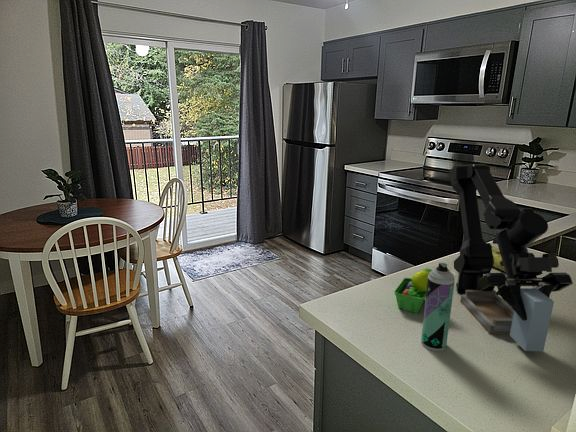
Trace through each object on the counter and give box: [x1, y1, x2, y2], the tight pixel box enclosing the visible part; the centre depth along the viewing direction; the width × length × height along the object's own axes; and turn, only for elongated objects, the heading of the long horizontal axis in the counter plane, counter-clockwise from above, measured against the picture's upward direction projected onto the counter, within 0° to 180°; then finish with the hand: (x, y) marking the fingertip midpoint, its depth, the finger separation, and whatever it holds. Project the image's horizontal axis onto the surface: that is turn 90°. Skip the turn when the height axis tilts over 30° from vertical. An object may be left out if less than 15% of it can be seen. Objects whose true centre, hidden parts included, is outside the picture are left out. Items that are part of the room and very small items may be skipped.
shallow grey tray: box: [460, 289, 514, 335], centre depth 100 cm, size 16×10×4 cm, turn 0°
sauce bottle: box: [491, 245, 506, 273], centre depth 133 cm, size 6×6×20 cm
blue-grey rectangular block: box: [509, 287, 555, 352], centre depth 85 cm, size 6×4×12 cm, turn 0°
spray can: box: [420, 262, 456, 352], centre depth 86 cm, size 6×6×20 cm
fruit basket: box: [393, 267, 432, 314], centre depth 105 cm, size 11×9×11 cm
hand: (535, 320), depth 83 cm, fingers closed on blue-grey rectangular block, 4 cm apart
